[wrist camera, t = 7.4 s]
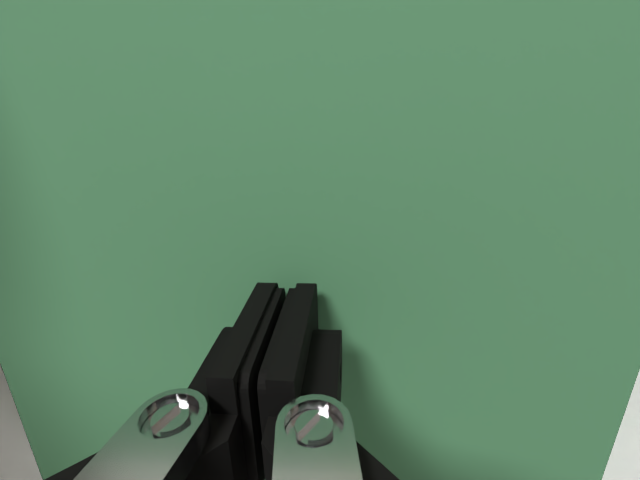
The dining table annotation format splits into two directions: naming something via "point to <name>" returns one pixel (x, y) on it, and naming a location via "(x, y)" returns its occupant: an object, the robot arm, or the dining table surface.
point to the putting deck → (329, 214)
